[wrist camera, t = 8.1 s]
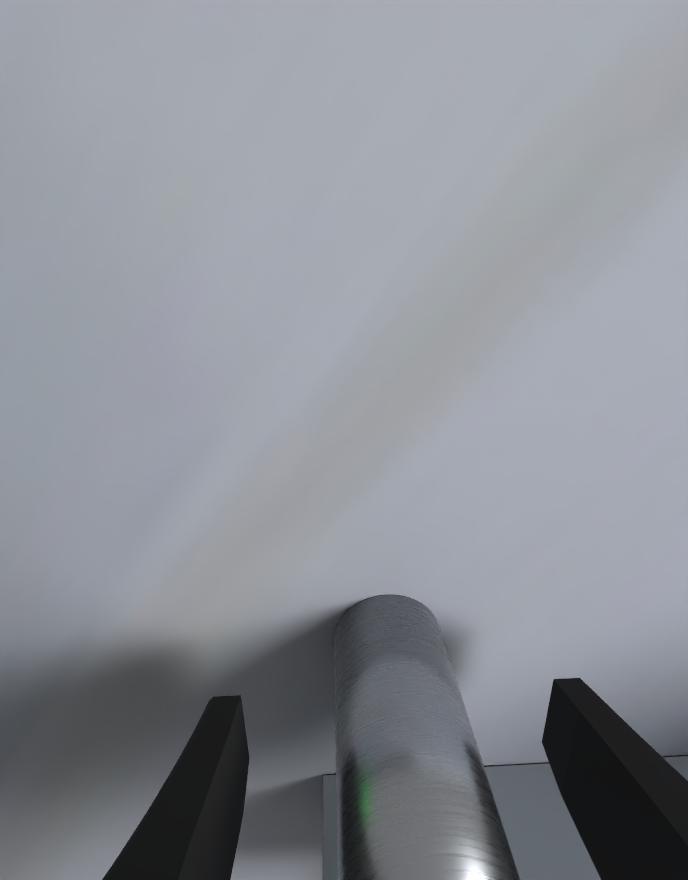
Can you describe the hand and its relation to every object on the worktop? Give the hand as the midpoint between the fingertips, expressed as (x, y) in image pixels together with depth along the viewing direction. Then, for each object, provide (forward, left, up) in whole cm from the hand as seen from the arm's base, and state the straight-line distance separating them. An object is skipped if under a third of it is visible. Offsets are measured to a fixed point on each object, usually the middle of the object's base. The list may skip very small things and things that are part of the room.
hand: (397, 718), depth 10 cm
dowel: (0, 0, -2) cm, 2 cm away
